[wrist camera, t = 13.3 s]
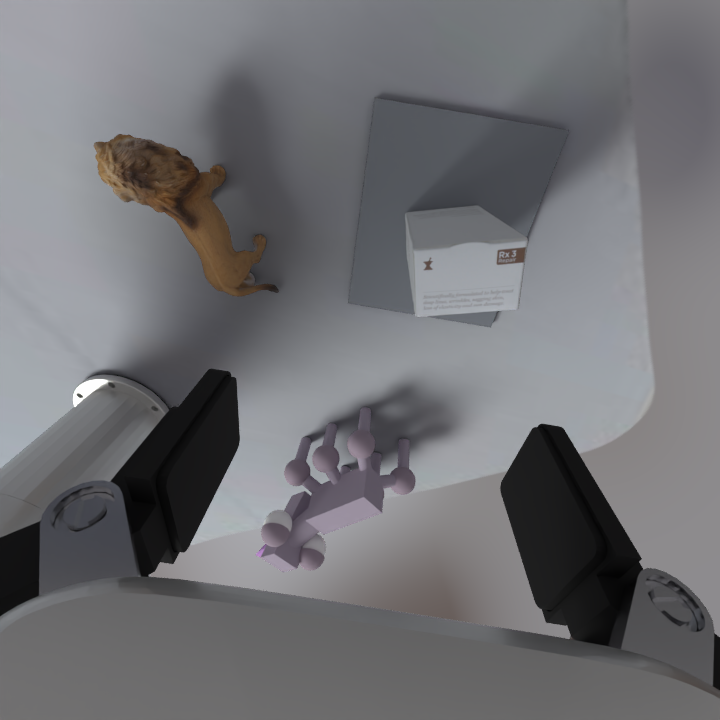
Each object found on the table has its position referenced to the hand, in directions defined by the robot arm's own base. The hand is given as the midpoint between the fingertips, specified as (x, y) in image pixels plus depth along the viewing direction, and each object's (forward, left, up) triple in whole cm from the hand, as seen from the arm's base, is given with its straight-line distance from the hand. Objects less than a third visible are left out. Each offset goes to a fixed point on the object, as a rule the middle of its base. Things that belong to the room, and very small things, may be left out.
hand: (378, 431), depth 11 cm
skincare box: (+2, -4, -23) cm, 23 cm away
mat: (+2, -4, -23) cm, 24 cm away
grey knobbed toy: (-28, +3, -24) cm, 37 cm away
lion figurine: (0, +15, -24) cm, 28 cm away
